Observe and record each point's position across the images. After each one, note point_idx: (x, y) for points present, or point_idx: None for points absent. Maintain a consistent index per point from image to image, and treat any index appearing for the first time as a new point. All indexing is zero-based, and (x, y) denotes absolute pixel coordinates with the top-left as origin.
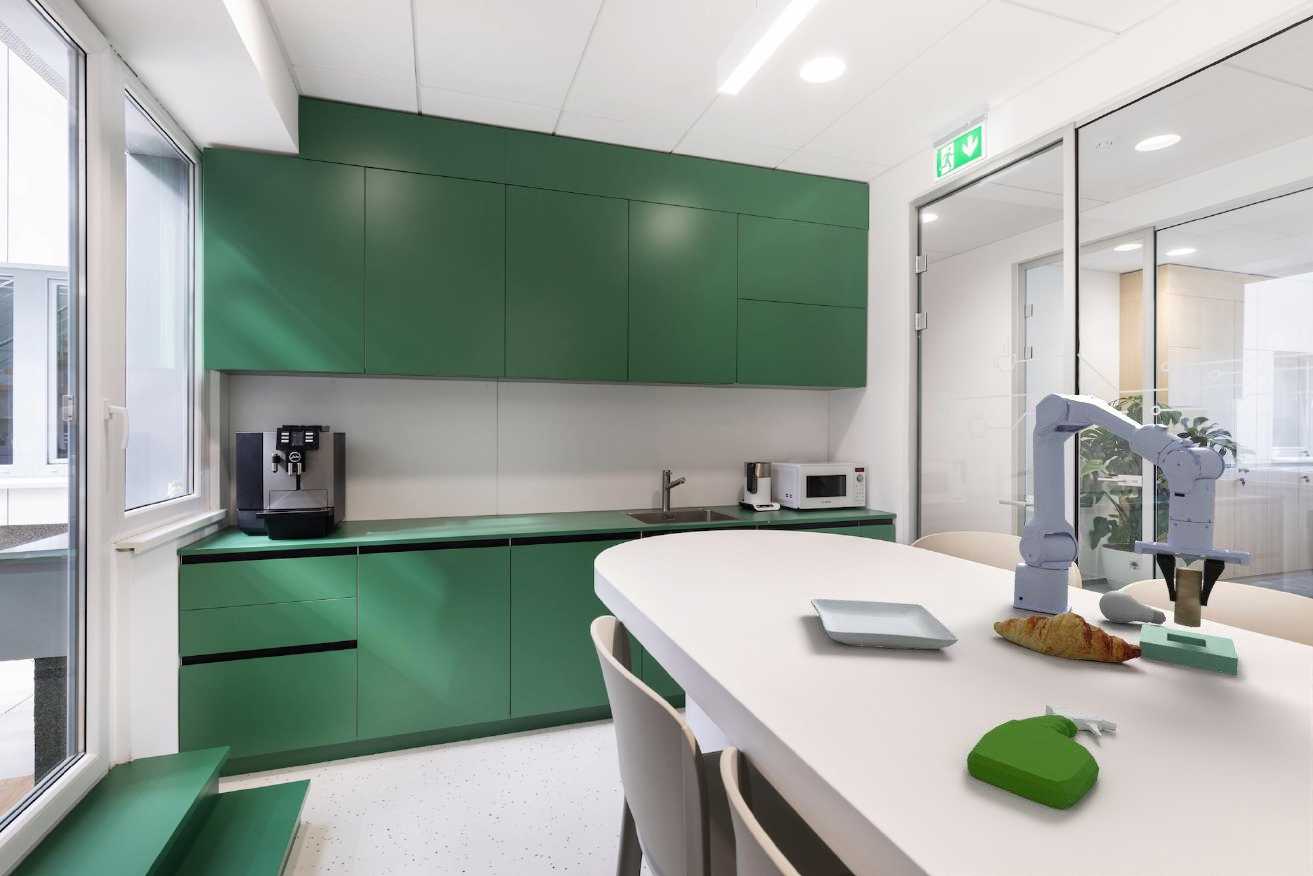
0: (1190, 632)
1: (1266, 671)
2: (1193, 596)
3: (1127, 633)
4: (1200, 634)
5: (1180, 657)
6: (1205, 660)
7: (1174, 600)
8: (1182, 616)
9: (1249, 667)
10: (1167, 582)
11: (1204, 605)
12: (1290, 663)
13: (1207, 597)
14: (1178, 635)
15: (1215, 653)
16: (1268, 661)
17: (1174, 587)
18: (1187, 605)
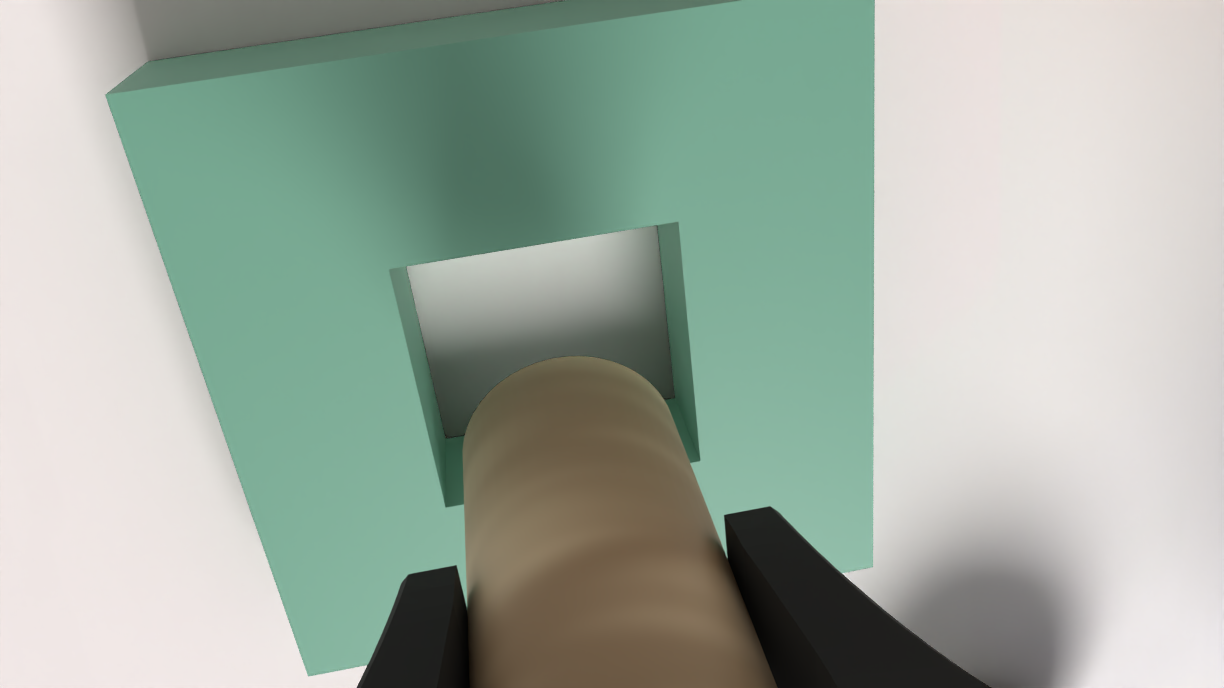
0: None
1: (43, 365)
2: (543, 592)
3: (918, 539)
4: None
5: (540, 15)
6: (359, 44)
7: (733, 522)
8: (612, 402)
9: (152, 371)
10: (908, 639)
11: (423, 572)
12: (12, 683)
13: (384, 639)
14: None
15: (288, 115)
16: (115, 619)
17: (792, 615)
18: (589, 489)
